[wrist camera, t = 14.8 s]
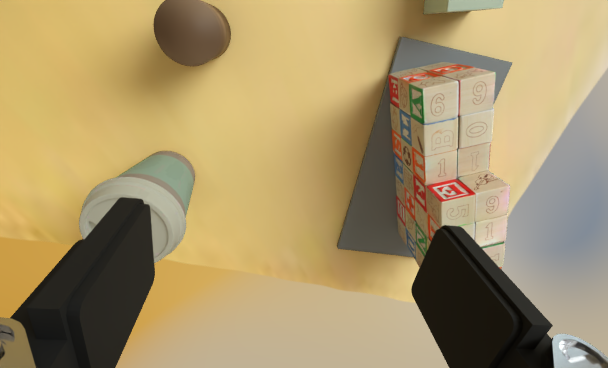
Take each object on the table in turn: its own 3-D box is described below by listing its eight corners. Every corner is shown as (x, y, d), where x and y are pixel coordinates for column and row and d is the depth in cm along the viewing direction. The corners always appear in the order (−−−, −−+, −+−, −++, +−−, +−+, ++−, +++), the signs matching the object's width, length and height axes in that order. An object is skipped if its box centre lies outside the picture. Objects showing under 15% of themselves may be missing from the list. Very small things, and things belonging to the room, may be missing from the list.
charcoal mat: (399, 36, 32) (402, 36, 32) (508, 62, 35) (512, 62, 34) (337, 245, 44) (337, 248, 43) (422, 255, 46) (424, 258, 45)
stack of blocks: (385, 73, 33) (440, 93, 22) (443, 60, 33) (526, 74, 22) (398, 233, 43) (440, 303, 32) (442, 224, 43) (501, 290, 32)
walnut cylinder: (179, -3, 29) (153, -13, 23) (233, 9, 30) (222, 3, 24) (177, 53, 31) (153, 59, 25) (228, 63, 32) (217, 71, 26)
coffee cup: (123, 140, 35) (55, 189, 24) (201, 138, 35) (170, 185, 25) (140, 206, 38) (89, 275, 28) (211, 203, 39) (187, 269, 28)
